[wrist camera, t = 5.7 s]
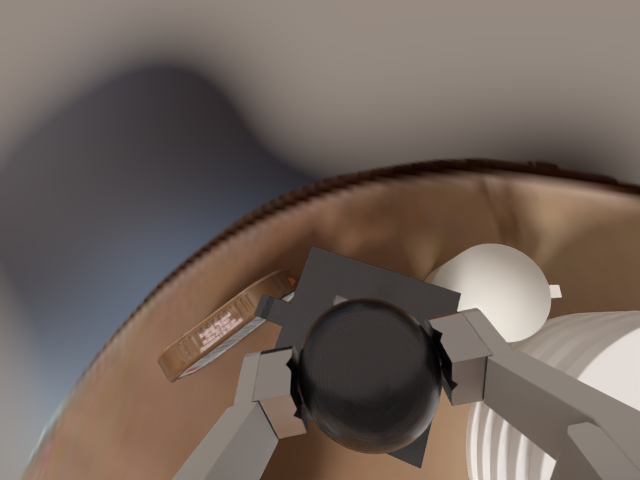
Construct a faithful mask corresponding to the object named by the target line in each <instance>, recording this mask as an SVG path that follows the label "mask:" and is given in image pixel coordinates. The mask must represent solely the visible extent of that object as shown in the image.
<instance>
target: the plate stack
mask: <svg viewBox="0 0 640 480" xmlns="http://www.w3.org/2000/svg"><path fill="white" fill-rule="evenodd" d="M508 344H509V346H510V347H511V348H512V349H513V351H514V352H515V351H522V352H524V353H526V354H528V355H530V356H532V357H534V358H536V359H537V360H539V361H541V362H543V363H545V364H547V365H549V366H551V367H553V368H555V369H557V370H559V371H561V372H563V373H565V374H567V375H569V376H571V377H573V378H575V379H577V380H579V381H581V382H583V383H585V384H587V385H589V386H591V387H593V388H595V389H597V390H599V391H601V392H603V393H605V394H607V395H609V396H611V397H613V398H615V399H617V400H619V401H621V402H623V403H625V404H627V405H629V406H631V407H633V408H635V409H637V410H639V411H640V311H615V312H589V313H575V314H568V315H563V316H559V317H555V318H552V319H548V320H546V321H545V323H544V324H543V326H542V327H541V328H540V329H539V330H538V331H537V332H536V333H535V334H533V335H532V336H530V337H528V338H526V339H523V340H521V341H516V342H508ZM483 402H484V401H480V402H473V403H471V407H470V412H469V417H468V424H467V435H466V455H467V467H468V474H469V480H550V477H551V475H552V472H553V469H554V466H555V463H556V461H555V460H554V459H553V458H552V457H550V456H549V455H548V454H547V453H545V452H544V451H543V450H542V449H540V448H539V447H538V446H537V445H535V444H534V443H533V442H532V441H530V440H529V439H528V438H527V437H525V436H524V435H523V434H522V433H521V432H519V431H518V430H517V429H516V428H514V427H513V426H512V425H511V424H509V423H508V422H507V421H506V420H504V419H503V418H502V417H501V416H499V415H498V414H497V413H496V412H494V411H493V410H492V409H491V408H489V407H488V406H487V405H486V404H484V403H483Z"/></svg>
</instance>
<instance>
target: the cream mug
mask: <svg viewBox="0 0 640 480" xmlns="http://www.w3.org/2000/svg"><path fill="white" fill-rule="evenodd" d="M424 282H427V283H430V284H434V285H437V286H440V287H443V288H446V289H449V290H452V291H456V292H459V293H461V296H460V301H459V305H458V309H457V311H458V312H459V311H463V310H467V309H472V308H478V309H480V310H481V311H482V313H483V314H484V315H485V316H486V318H487V319H488V320H489V321H490V322H491V324H492V325H493V326H494V327H495V329H496V330H497V331H498V332H499V333H500V335H501V336H502V337H503V338H504V340H505V341H506V342H516V341H521V340H523V339H526V338H528V337H530V336H532V335H533V334H535V333H536V332H537V331H538V330H539V329H540V328H541V327H542V326H543V324H544V323H545V321H546V319H547V317H548V315H549V312H550V307H551V299H552V298H561V297H562V296H561V291H560V287H559V285H548V282H547V280H546V277H545V276H544V274H543V272H542V271H541V269H540V268H539V267H538V265H537V264H536V263H535V262H534V261H533V260H532V259H530V258H529V257H528V256H527V255H525V254H524V253H522V252H521V251H519V250H517V249H515V248H512V247H509V246H506V245H502V244H492V243H488V244H480V245H476V246H473V247H471V248H469V249H467V250H465V251H463V252H462V253H460V254H459V255H457V256H456V257H454V258H453V259H451V260H449V261H448V262H446V263H445V264H443V265H442V266H440V267H438V268H437V269H435V270H434V271H432V272H431V273H430V274H429V275H428V276H427V278H426V279H425V281H424Z"/></svg>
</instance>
